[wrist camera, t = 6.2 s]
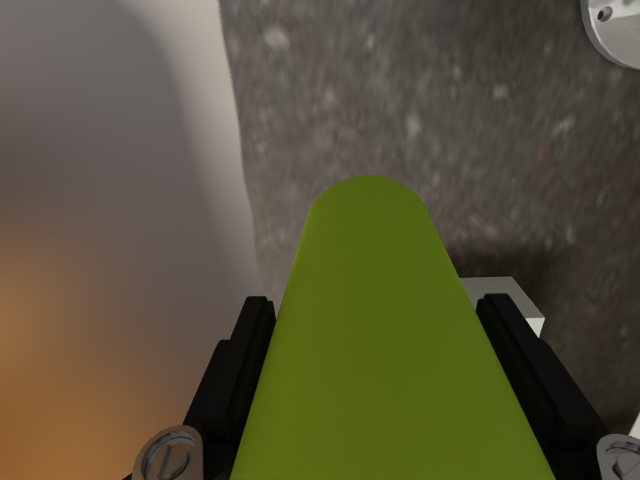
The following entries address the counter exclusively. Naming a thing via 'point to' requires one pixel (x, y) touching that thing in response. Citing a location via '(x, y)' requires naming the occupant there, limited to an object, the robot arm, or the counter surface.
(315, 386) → the soap dispenser
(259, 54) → the counter surface
